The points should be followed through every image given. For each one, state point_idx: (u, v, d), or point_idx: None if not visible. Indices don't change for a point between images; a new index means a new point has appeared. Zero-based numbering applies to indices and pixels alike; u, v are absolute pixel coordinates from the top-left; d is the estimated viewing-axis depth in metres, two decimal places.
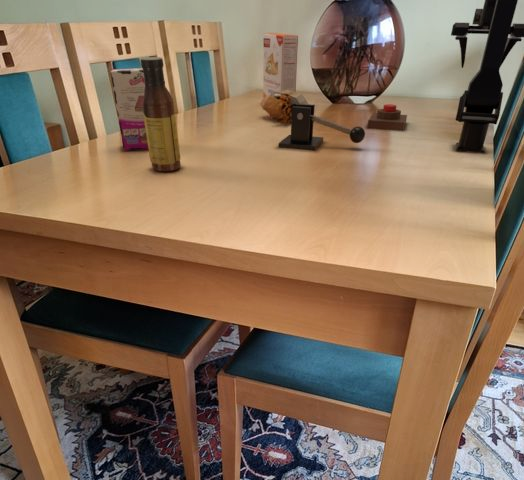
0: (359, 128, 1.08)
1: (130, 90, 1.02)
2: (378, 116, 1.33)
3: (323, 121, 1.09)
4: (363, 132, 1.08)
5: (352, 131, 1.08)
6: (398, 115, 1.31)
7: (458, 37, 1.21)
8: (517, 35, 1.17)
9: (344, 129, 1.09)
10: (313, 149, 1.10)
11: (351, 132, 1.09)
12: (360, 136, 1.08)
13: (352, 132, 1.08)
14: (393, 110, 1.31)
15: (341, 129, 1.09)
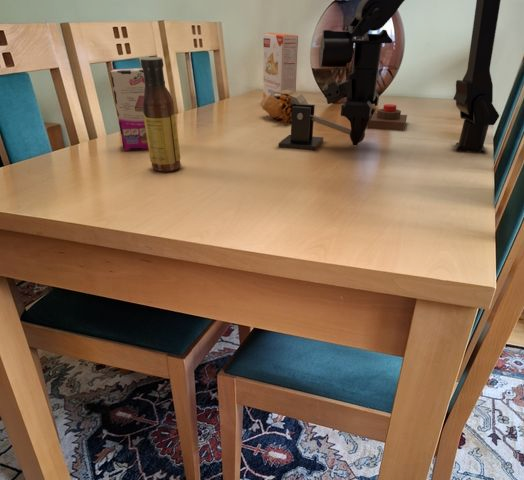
0: None
1: (130, 90, 1.02)
2: (378, 116, 1.33)
3: (323, 121, 1.09)
4: None
5: None
6: (398, 115, 1.31)
7: None
8: (377, 104, 1.10)
9: (344, 129, 1.09)
10: (313, 149, 1.10)
11: (351, 132, 1.09)
12: None
13: None
14: (393, 110, 1.31)
15: (341, 129, 1.09)
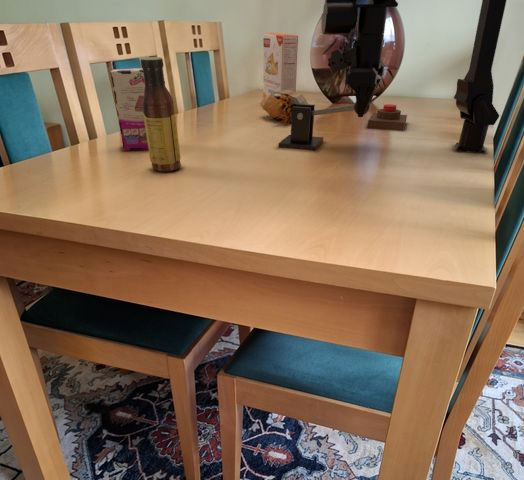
0: None
1: (130, 90, 1.02)
2: (378, 116, 1.33)
3: (324, 110, 1.08)
4: None
5: (355, 105, 1.05)
6: (398, 115, 1.31)
7: None
8: (382, 74, 1.07)
9: (347, 107, 1.06)
10: (313, 149, 1.10)
11: (355, 106, 1.05)
12: None
13: (355, 106, 1.05)
14: (393, 110, 1.31)
15: (344, 109, 1.07)
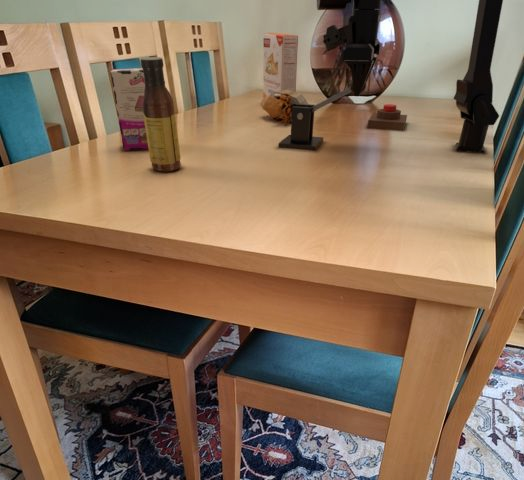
0: None
1: (130, 90, 1.02)
2: (378, 116, 1.33)
3: (322, 103, 1.07)
4: None
5: (351, 86, 1.03)
6: (398, 115, 1.31)
7: (370, 61, 0.96)
8: (379, 52, 1.04)
9: (343, 92, 1.05)
10: (313, 149, 1.10)
11: (351, 88, 1.03)
12: None
13: (351, 87, 1.03)
14: (393, 110, 1.31)
15: (341, 94, 1.05)
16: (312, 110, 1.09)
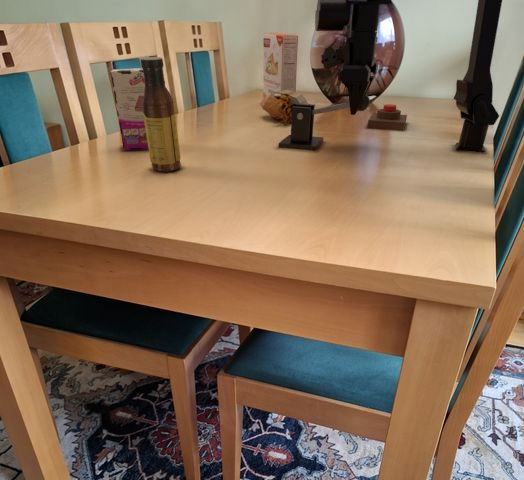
0: None
1: (130, 90, 1.02)
2: (378, 116, 1.33)
3: (324, 109, 1.08)
4: (366, 96, 1.04)
5: None
6: (398, 115, 1.31)
7: (366, 81, 0.98)
8: (376, 72, 1.07)
9: (346, 104, 1.06)
10: (313, 149, 1.10)
11: None
12: (364, 101, 1.04)
13: None
14: (393, 110, 1.31)
15: (344, 106, 1.06)
16: (313, 113, 1.09)
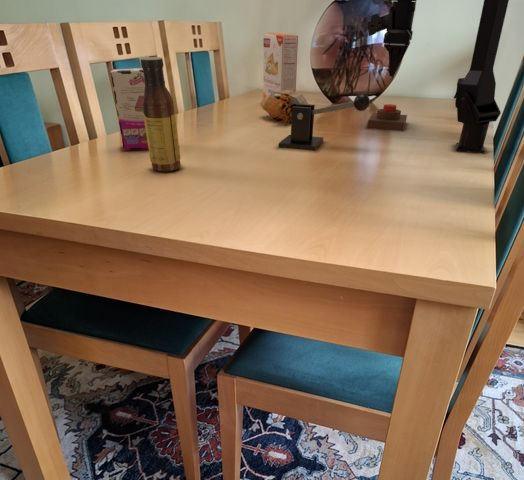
0: (360, 95, 1.04)
1: (130, 90, 1.02)
2: (378, 116, 1.33)
3: (324, 109, 1.08)
4: (366, 96, 1.04)
5: (355, 101, 1.05)
6: (398, 115, 1.31)
7: (406, 45, 1.13)
8: (411, 38, 1.24)
9: (346, 104, 1.06)
10: (313, 149, 1.10)
11: (354, 103, 1.05)
12: (364, 101, 1.04)
13: (355, 102, 1.05)
14: (393, 110, 1.31)
15: (344, 106, 1.06)
16: (313, 113, 1.09)
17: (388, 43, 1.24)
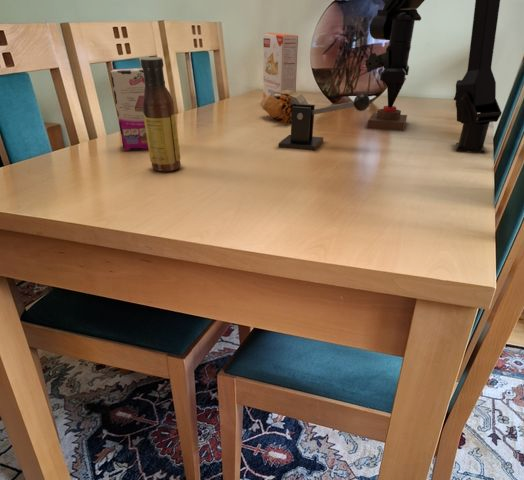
0: (360, 95, 1.04)
1: (130, 90, 1.02)
2: (378, 116, 1.33)
3: (324, 109, 1.08)
4: (366, 96, 1.04)
5: (355, 101, 1.05)
6: (398, 115, 1.31)
7: None
8: (407, 73, 1.32)
9: (346, 104, 1.06)
10: (313, 149, 1.10)
11: (354, 103, 1.05)
12: (364, 101, 1.04)
13: (355, 102, 1.05)
14: (393, 111, 1.31)
15: (344, 106, 1.06)
16: (313, 113, 1.09)
17: None
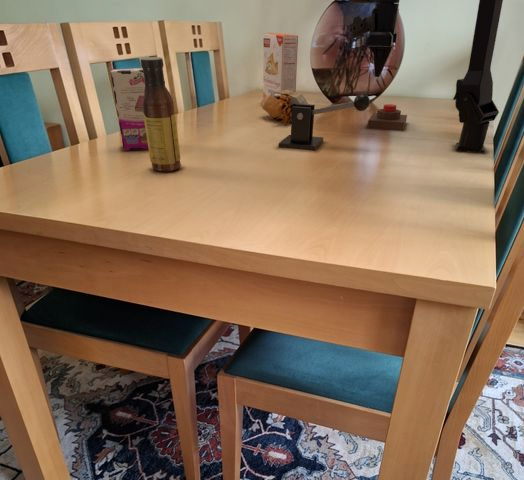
0: (360, 95, 1.04)
1: (130, 90, 1.02)
2: (378, 116, 1.33)
3: (324, 109, 1.08)
4: (366, 96, 1.04)
5: (355, 101, 1.05)
6: (398, 115, 1.31)
7: (390, 46, 1.15)
8: (396, 41, 1.22)
9: (346, 104, 1.06)
10: (313, 149, 1.10)
11: (354, 103, 1.05)
12: (364, 101, 1.04)
13: (355, 102, 1.05)
14: (393, 110, 1.31)
15: (344, 106, 1.06)
16: (313, 113, 1.09)
17: None
